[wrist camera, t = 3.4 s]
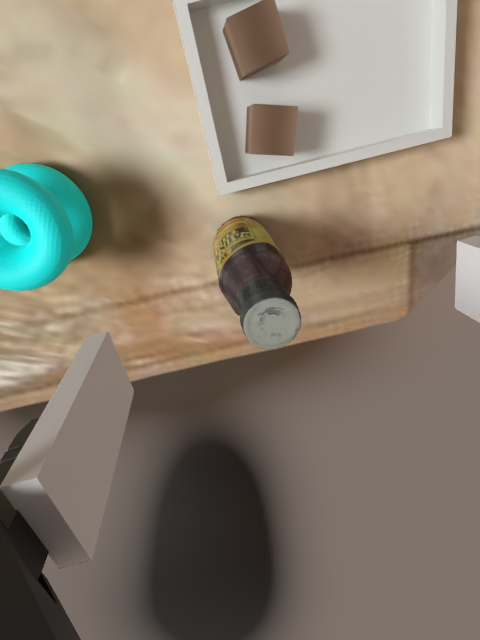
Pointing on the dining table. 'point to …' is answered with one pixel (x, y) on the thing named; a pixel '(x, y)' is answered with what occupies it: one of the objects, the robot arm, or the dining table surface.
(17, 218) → the donuts
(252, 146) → the walnut block
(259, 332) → the sauce bottle
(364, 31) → the tray
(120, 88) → the dining table surface
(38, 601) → the robot arm
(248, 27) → the walnut block
